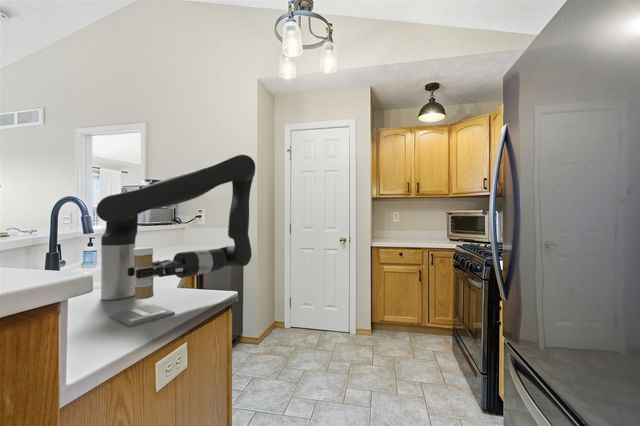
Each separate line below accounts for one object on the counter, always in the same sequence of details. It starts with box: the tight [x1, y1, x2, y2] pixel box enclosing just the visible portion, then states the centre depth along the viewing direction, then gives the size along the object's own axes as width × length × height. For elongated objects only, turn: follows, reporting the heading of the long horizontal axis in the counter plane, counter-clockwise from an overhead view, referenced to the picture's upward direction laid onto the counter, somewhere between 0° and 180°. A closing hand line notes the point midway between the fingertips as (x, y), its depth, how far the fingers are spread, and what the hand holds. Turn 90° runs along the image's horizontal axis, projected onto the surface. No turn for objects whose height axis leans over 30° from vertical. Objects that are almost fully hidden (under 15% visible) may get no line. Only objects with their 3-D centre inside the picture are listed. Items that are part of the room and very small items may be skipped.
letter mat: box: [108, 303, 175, 328], centre depth 77 cm, size 12×11×1 cm
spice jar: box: [133, 246, 155, 300], centre depth 78 cm, size 5×5×14 cm
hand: (132, 273), depth 75 cm, fingers closed on spice jar, 4 cm apart
